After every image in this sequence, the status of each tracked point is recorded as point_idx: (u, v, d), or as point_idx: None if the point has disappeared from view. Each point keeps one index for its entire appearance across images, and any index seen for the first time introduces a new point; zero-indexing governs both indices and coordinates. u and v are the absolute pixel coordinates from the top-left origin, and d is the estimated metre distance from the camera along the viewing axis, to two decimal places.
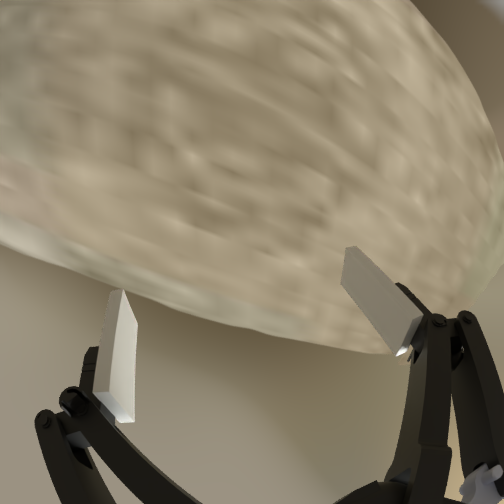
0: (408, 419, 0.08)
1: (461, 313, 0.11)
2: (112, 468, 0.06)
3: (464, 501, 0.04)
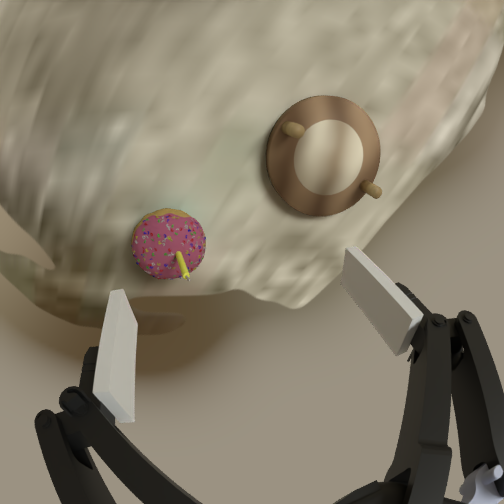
0: (408, 419, 0.08)
1: (461, 313, 0.11)
2: (112, 468, 0.06)
3: (464, 501, 0.04)
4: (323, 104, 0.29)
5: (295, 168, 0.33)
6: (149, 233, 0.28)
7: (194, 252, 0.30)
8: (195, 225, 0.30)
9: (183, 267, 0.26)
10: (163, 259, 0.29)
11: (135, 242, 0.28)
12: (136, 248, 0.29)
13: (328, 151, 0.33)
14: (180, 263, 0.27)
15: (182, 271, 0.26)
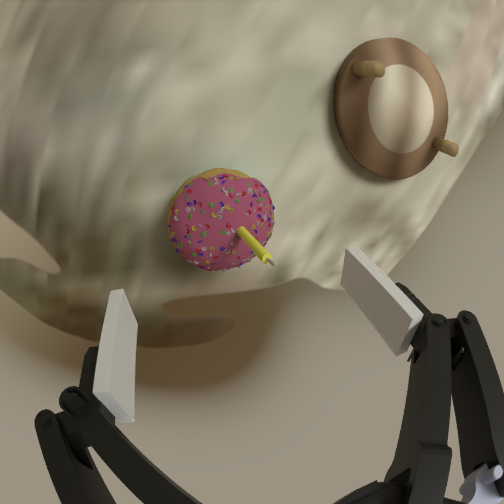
0: (408, 419, 0.08)
1: (461, 313, 0.11)
2: (112, 468, 0.06)
3: (464, 501, 0.04)
4: (392, 46, 0.19)
5: (369, 119, 0.23)
6: (196, 203, 0.19)
7: (262, 227, 0.21)
8: (260, 188, 0.21)
9: (258, 246, 0.18)
10: (219, 240, 0.20)
11: (174, 219, 0.20)
12: (176, 228, 0.20)
13: (402, 101, 0.23)
14: (251, 241, 0.18)
15: (259, 252, 0.17)
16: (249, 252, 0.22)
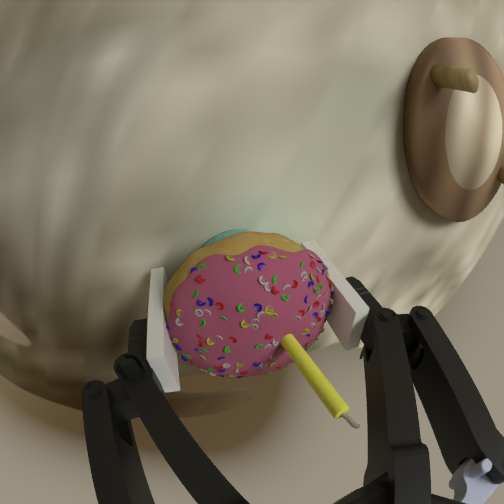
0: (373, 420, 0.09)
1: (413, 310, 0.12)
2: (154, 437, 0.07)
3: (457, 497, 0.05)
4: (469, 49, 0.11)
5: (446, 146, 0.15)
6: (212, 303, 0.11)
7: (317, 327, 0.13)
8: (318, 267, 0.13)
9: (326, 389, 0.09)
10: (252, 355, 0.12)
11: (176, 322, 0.12)
12: (180, 336, 0.12)
13: (477, 122, 0.15)
14: (312, 374, 0.10)
15: (329, 402, 0.09)
16: None
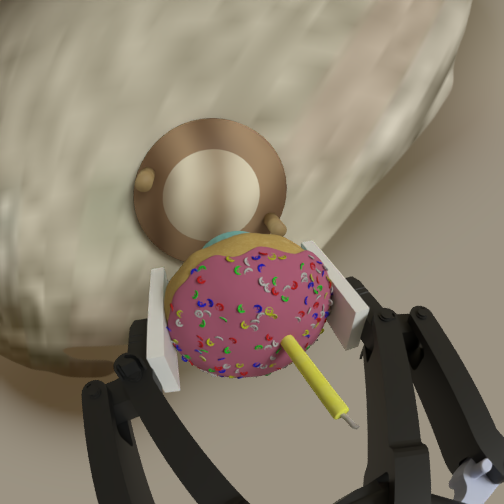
0: (373, 420, 0.09)
1: (413, 310, 0.12)
2: (154, 437, 0.07)
3: (457, 497, 0.05)
4: (186, 134, 0.24)
5: (168, 218, 0.28)
6: (212, 304, 0.11)
7: (317, 328, 0.13)
8: (318, 268, 0.13)
9: (326, 389, 0.09)
10: (252, 356, 0.12)
11: (176, 323, 0.12)
12: (180, 337, 0.12)
13: (207, 190, 0.28)
14: (312, 375, 0.10)
15: (329, 403, 0.09)
16: None
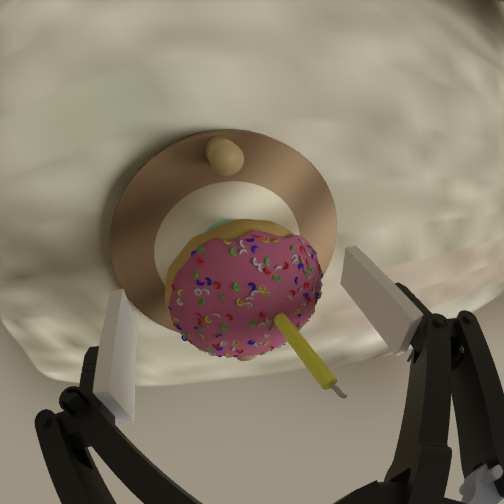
0: (408, 418, 0.08)
1: (461, 313, 0.11)
2: (112, 468, 0.06)
3: (464, 501, 0.04)
4: (301, 174, 0.17)
5: (165, 217, 0.17)
6: (210, 283, 0.12)
7: (308, 307, 0.14)
8: (308, 251, 0.14)
9: (315, 361, 0.10)
10: (247, 333, 0.13)
11: (177, 302, 0.13)
12: (181, 315, 0.13)
13: None
14: (302, 348, 0.11)
15: (318, 373, 0.10)
16: (286, 339, 0.15)
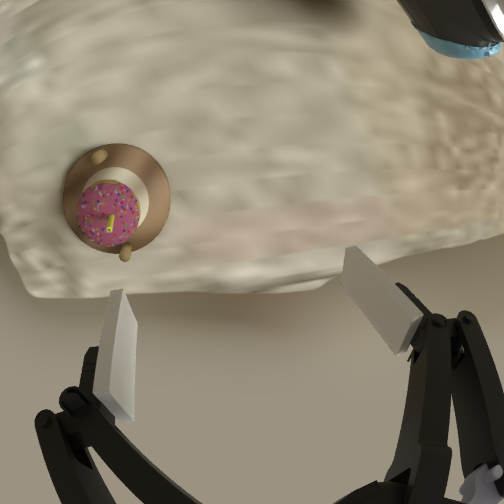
0: (409, 418, 0.08)
1: (461, 313, 0.11)
2: (112, 468, 0.06)
3: (464, 501, 0.04)
4: (141, 160, 0.34)
5: (84, 186, 0.33)
6: (86, 202, 0.28)
7: (126, 214, 0.30)
8: (124, 189, 0.30)
9: (108, 223, 0.27)
10: (100, 223, 0.29)
11: (77, 213, 0.29)
12: (79, 219, 0.29)
13: None
14: (108, 221, 0.27)
15: (107, 226, 0.26)
16: (121, 231, 0.31)
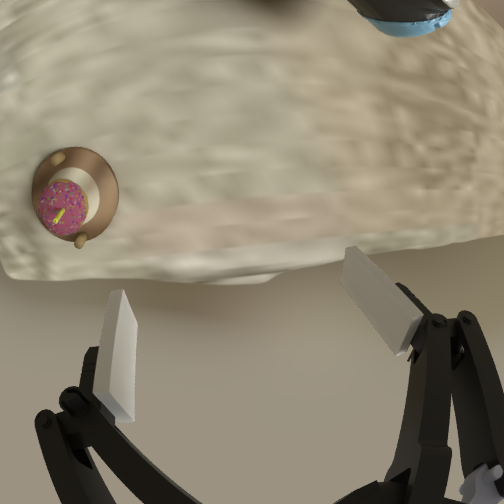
0: (408, 418, 0.08)
1: (461, 313, 0.11)
2: (112, 468, 0.06)
3: (464, 501, 0.04)
4: (92, 161, 0.36)
5: (48, 183, 0.35)
6: (44, 198, 0.31)
7: (74, 208, 0.33)
8: (73, 187, 0.32)
9: (56, 216, 0.29)
10: (54, 216, 0.32)
11: (38, 207, 0.32)
12: (39, 211, 0.32)
13: None
14: (57, 214, 0.30)
15: (54, 218, 0.29)
16: (71, 222, 0.34)
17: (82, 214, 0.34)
